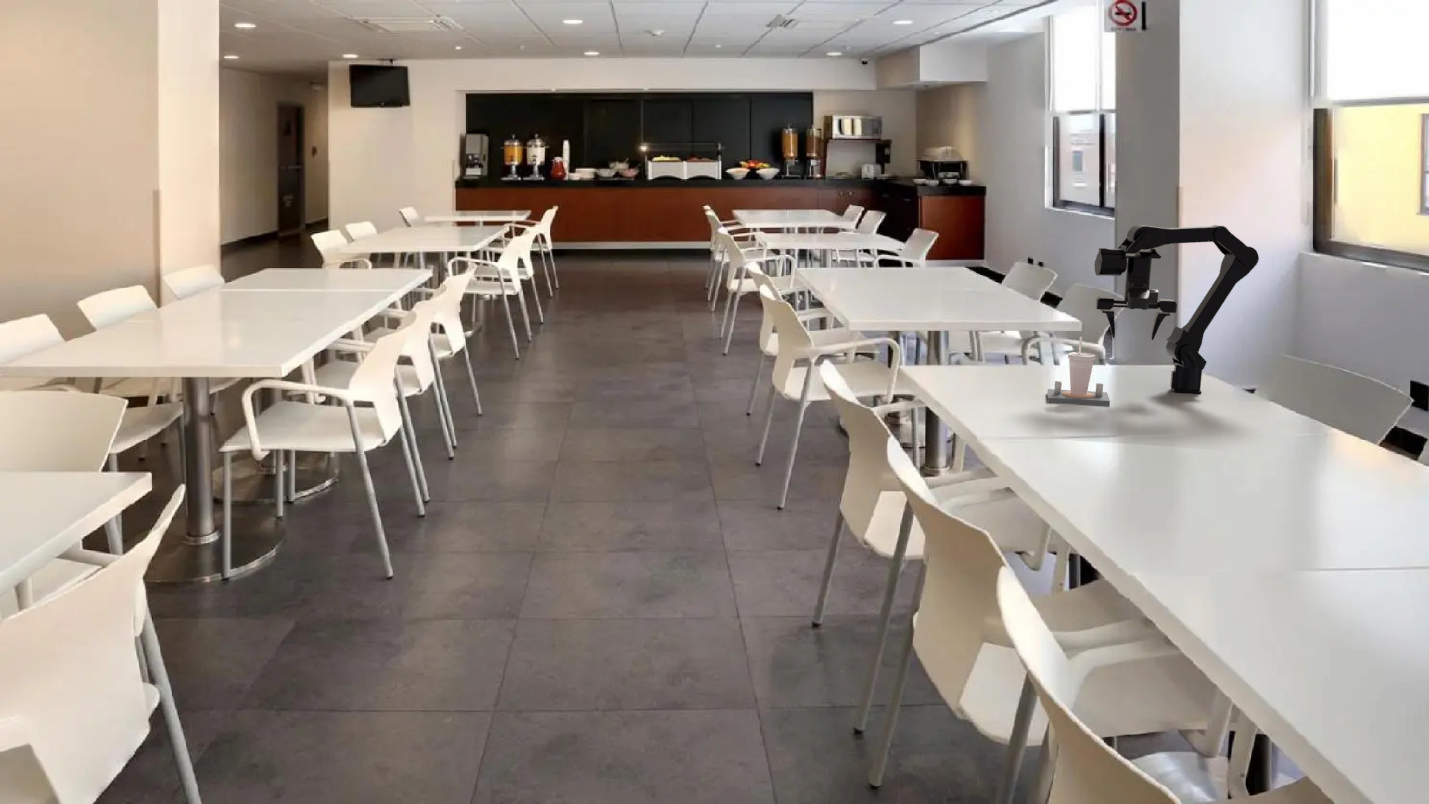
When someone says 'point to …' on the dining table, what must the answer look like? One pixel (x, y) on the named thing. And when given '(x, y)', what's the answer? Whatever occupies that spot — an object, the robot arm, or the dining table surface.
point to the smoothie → (1080, 370)
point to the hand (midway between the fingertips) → (1132, 338)
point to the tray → (1078, 396)
